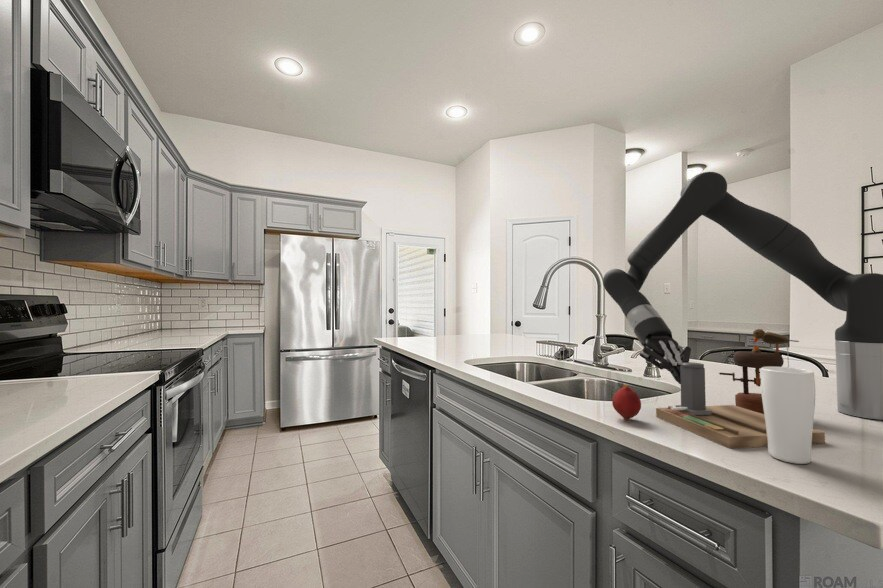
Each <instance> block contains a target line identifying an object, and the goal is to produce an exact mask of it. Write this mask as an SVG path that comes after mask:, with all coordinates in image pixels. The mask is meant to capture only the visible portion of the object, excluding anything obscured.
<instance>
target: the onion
mask: <svg viewBox="0 0 883 588" xmlns="http://www.w3.org/2000/svg"><path fill="white" fill-rule="evenodd" d="M621 386H622V388H619V389H618V390H616V391H615V393H614V394H613V397H612V400H611V402H612V404H611V405H612V407H613V409H614V410H615V412H616V413H617V414H618V415H620V417H622V418H623V419H624V420H626V421H629V420H630V419H633V418H634V417H636V416H637V415H638V414H639V413H640V411H641V407H642V400H641V399H640V397H639V394H638V393H637V392H636V391H635V390H634V389H632V388H631V387H630V386H629V385H628V384H625V383H624V384H622V385H621Z"/></svg>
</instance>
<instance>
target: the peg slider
mask: <svg viewBox="0 0 883 588" xmlns="http://www.w3.org/2000/svg"><path fill="white" fill-rule="evenodd" d="M680 377H681V384H680V404H676V405H675V406H671V407H670V409H671V410H682V411H685V412H688V413H690V414H693V415H712V411H711V410H708V409H706V406H707V405H706V404H707V402H706V368H705V364H704V363H699V362H694V361H693V362H690V361H689V362H682V363H681V366H680Z"/></svg>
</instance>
